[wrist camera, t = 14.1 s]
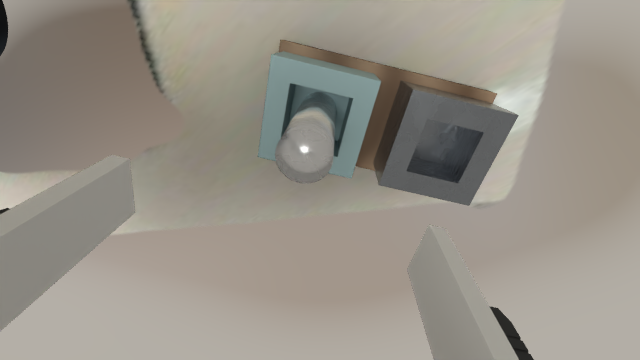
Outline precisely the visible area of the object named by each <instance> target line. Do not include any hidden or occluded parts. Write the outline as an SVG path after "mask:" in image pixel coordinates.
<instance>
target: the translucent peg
mask: <svg viewBox="0 0 640 360" xmlns="http://www.w3.org/2000/svg"><path fill="white" fill-rule="evenodd" d="M335 120H336V106H335V103H334V101H333V99H332V98H331V97H330V96H329V95H327V94H325V93H323V92H313V93H310V94H309V95H307V96H306V97H305V98H304V99H303V101H302V103H301V105H300V106H299V108H298V110H297V111H296V113H295V115H294V117H293V118H292V120H291V122H290V123H289V125H288V127H287V129H286V130H285V132H284V134H283V135H282V137H281V139H280V141H279V142H278V144H277V147H276V150H275V159H276V163H277V165H278V168H279V169H280V171H281V172H282V173H283V174H284V175H285V176H286V177H288V178H289V179H291V180H293V181H295V182H299V183H312V182H316V181H318V180H320V179H322V178H323V177H324V176H326V175H327V173H328V172H329V171H330V169H331V167H332V164H333V155H334V137H335Z"/></svg>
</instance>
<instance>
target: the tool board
mask: <svg viewBox="0 0 640 360" xmlns="http://www.w3.org/2000/svg"><path fill="white" fill-rule="evenodd" d="M283 51H284V52H289V53H293V54H297V55H301V56H305V57H309V58H313V59H317V60H321V61H325V62H329V63H333V64H337V65H341V66H345V67H349V68H353V69H357V70H361V71H365V72H369V73H373V74H375V75H376V76H377V77H378V78H379V80H380V81H381V84H380V87H379V90H378V93H377V97H376V100H375V103H374V106H373V110H372V113H371V116H370V119H369V123H368V126H367V129H366V132H365V136H364V139H363V142H362V145H361V149H360V152H359V155H358V158H357V162H356V165H355V166H357V167H361V168H366V169H370V170H374V171H375V168H374V164H373V161H374V158H375V155H376V152H377V149H378V146H379V144H380V141H381V138H382V135H383V132H384V129H385V126H386V123H387V120H388V117H389V114H390V111H391V108H392V105H393V102H394V99H395V96H396V93H397V90H398V87H399V84H400V81H401V80H402V81H406V82H410V83H414V84H418V85H422V86H426V87H430V88H434V89H438V90H442V91H446V92H450V93H454V94H458V95H462V96H467V97H471V98H475V99H479V100H483V101H487V102H490V103H493V101H494V99H495V97H496V95H497V94H496V93H493V92H491V91H487V90H483V89H479V88H475V87H471V86H467V85H463V84H459V83H455V82H451V81H447V80H443V79H439V78H435V77H430V76H426V75H422V74H418V73H414V72H410V71H406V70H402V69H398V68H394V67H390V66H386V65H382V64H378V63H374V62H370V61H366V60H362V59H358V58H354V57H350V56H346V55H342V54H338V53H334V52H330V51H326V50H322V49H318V48H314V47H310V46H306V45H302V44H298V43H294V42H290V41H286V40H280V47H279V52H283Z"/></svg>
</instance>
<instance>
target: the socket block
mask: <svg viewBox="0 0 640 360" xmlns="http://www.w3.org/2000/svg"><path fill="white" fill-rule="evenodd" d="M518 116H519V115H517V114H515V113H512V112H510V111H508V110H506V109H503V108H501V107H499V106H497V105H494V104H492V103H490V102H487V101H483V100H479V99H475V98H471V97H467V96H462V95H458V94H454V93H450V92H446V91H442V90H438V89H434V88H430V87H426V86H422V85H418V84H414V83H410V82H406V81H402V80H401V81H400V84H399V87H398V90H397V93H396V96H395V99H394V102H393V105H392V108H391V111H390V114H389V117H388V120H387V123H386V126H385V129H384V132H383V135H382V138H381V141H380V144H379V146H378V149H377V152H376V155H375V158H374V161H373V164H374V168H375V172H376V176H377V180H378V184H379V185H381V186H386V187H390V188H394V189H399V190H403V191H407V192H412V193H416V194H420V195H425V196H429V197H433V198H438V199H442V200H446V201H451V202H455V203H459V204H464V205H468V206H469V205H470V203H471V201H472V199H473V197H474V196H475V194H476V192H477V190H478V188H479V187H480V185H481V183H482V181H483V179H484V177H485V176H486V174H487V172H488V170H489V168H490V167H491V165H492V163H493V161H494V159H495V157H496V156H497V154H498V152H499V150H500V148H501V147H502V145H503V143H504V141H505V139H506V137H507V136H508V134H509V132H510V130H511V128H512V126H513V125H514V123H515V121H516V119H517V117H518Z"/></svg>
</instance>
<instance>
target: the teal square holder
mask: <svg viewBox="0 0 640 360" xmlns="http://www.w3.org/2000/svg"><path fill="white" fill-rule="evenodd" d="M380 84H381V81H380V80H379V78H378V77H377V76H376V75H375V74H373V73H369V72H365V71H361V70H357V69H353V68H349V67H345V66H341V65H337V64H333V63H329V62H325V61H321V60H317V59H313V58H309V57H305V56H301V55H297V54H293V53H289V52H284V51H283V52H279V53H275V54H271V61H270V69H269V76H268V84H267V91H266V99H265V107H264V114H263V122H262V129H261V137H260V144H259V152H258V157H260V158H264V159H269V160H273V161H276V159H275V150H276V147H277V144H278V142H279V141H280V139H281V137H282V135H283V134H284V132H285V130H286V129H287V127H288V125H289V123H290V122H291V120H292V118H293V117H294V115H295V113H296V111H297V110H298V108H299V106H300V105H301V103H302V101H303V99H304V98H305V97H306V96H307V95H309V94H310V93H313V92H323V93H325V94H327V95H329V96H330V97H331V98H332V99H333V101H334V103H335V106H336V120H335V137H334V155H333V164H332V167H331V169H330V171H329V172H328V173H329V174H334V175H338V176H342V177H347V178H352V175H353V171H354V168H355V165H356V162H357V158H358V155H359V152H360V149H361V145H362V142H363V139H364V136H365V132H366V129H367V126H368V123H369V119H370V116H371V113H372V110H373V106H374V103H375V100H376V97H377V93H378V90H379V87H380Z"/></svg>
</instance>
